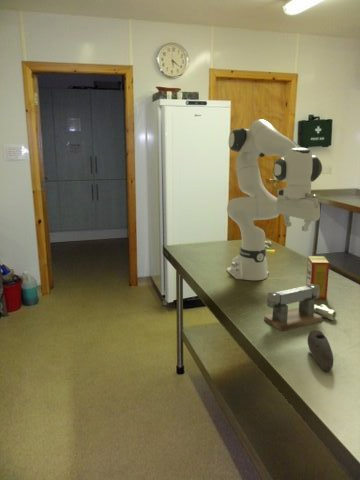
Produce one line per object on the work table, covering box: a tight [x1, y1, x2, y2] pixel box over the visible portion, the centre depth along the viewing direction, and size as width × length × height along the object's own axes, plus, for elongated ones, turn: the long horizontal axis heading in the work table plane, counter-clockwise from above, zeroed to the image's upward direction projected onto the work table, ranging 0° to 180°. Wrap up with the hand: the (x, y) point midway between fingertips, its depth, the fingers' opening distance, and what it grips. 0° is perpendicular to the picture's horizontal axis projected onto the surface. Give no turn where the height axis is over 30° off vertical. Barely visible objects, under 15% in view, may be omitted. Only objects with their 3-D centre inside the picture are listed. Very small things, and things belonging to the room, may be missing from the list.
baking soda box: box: [305, 255, 330, 300], centre depth 157 cm, size 10×6×16 cm
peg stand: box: [263, 299, 323, 332], centre depth 134 cm, size 10×18×8 cm, turn 114°
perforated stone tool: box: [307, 329, 334, 373], centre depth 108 cm, size 15×5×7 cm, turn 174°
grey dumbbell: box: [266, 284, 319, 309], centre depth 133 cm, size 4×22×4 cm, turn 114°
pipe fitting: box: [314, 303, 337, 321], centre depth 139 cm, size 8×4×7 cm
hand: (296, 228), depth 143 cm, fingers open, 8 cm apart
